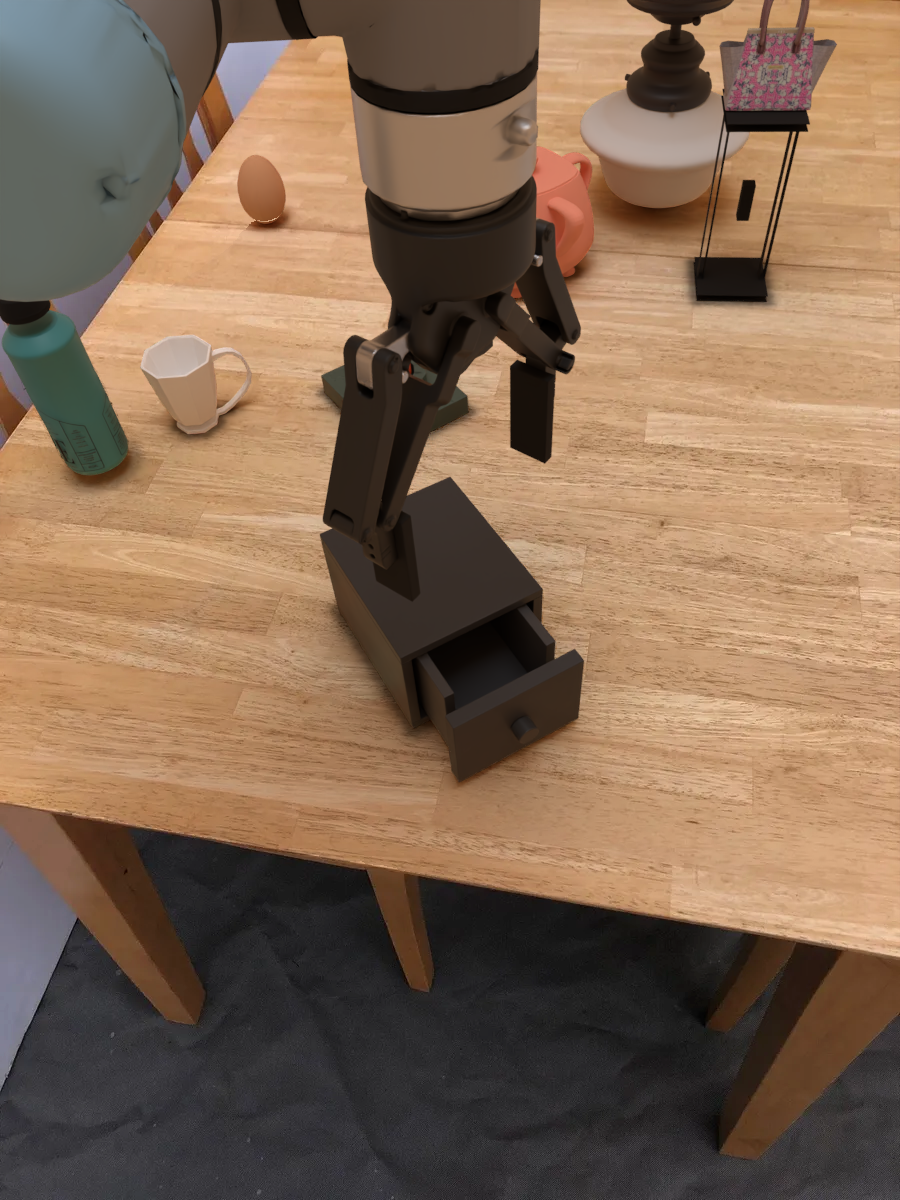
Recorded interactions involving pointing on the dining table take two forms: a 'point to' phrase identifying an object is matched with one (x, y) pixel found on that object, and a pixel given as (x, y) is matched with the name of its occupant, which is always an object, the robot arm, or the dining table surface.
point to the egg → (261, 189)
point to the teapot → (564, 205)
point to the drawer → (497, 689)
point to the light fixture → (663, 116)
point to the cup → (189, 380)
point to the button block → (446, 413)
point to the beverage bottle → (63, 386)
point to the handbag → (761, 104)
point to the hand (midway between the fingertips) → (468, 516)
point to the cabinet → (428, 587)
